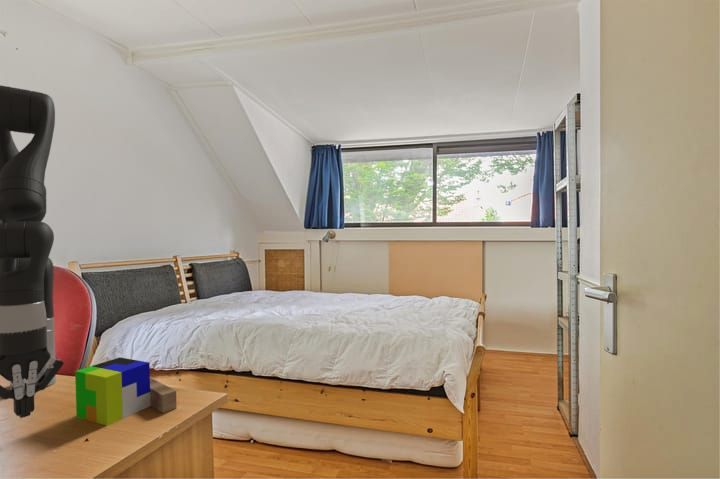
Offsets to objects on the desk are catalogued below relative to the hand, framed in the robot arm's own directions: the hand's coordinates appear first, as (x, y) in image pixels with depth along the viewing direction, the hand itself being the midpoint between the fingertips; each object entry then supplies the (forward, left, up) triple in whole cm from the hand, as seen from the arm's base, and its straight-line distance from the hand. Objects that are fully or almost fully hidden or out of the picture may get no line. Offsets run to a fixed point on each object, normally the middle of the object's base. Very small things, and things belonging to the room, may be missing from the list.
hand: (24, 415), depth 77 cm
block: (0, +23, -5) cm, 23 cm away
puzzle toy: (+1, +15, -5) cm, 16 cm away
